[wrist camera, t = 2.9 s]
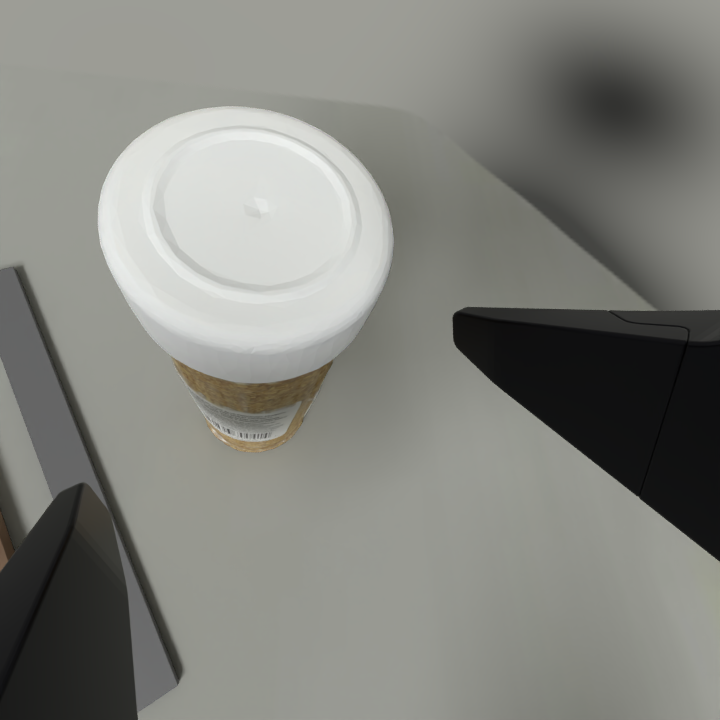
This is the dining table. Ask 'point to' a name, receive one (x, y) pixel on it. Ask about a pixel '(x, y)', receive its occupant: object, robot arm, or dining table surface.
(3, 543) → the board
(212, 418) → the sprinkles bottle
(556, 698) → the dining table surface
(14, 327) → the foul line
